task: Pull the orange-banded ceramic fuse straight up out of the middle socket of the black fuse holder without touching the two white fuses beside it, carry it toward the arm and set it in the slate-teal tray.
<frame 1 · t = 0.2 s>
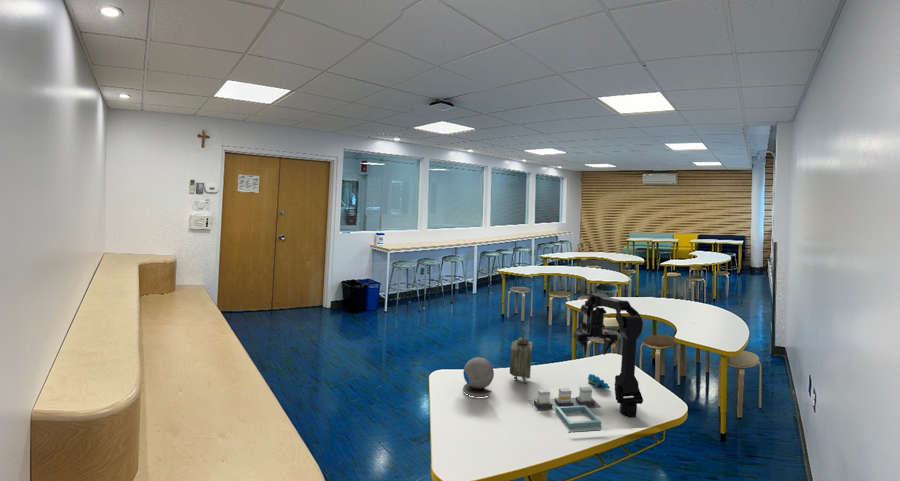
hand: (594, 354, 198), 14 cm above the table, tool pointing down, fingers open, 9 cm apart
gear: (597, 389, 196), on the table
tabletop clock: (519, 381, 203), on the table
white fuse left: (543, 404, 177), point 1 cm above the table, touching fuse holder
marked fuse: (564, 403, 179), point 1 cm above the table, touching fuse holder
fuse holder: (563, 407, 179), on the table
tray: (577, 422, 167), on the table
webcam: (477, 392, 190), on the table
white fuse right: (584, 402, 180), point 1 cm above the table, touching fuse holder
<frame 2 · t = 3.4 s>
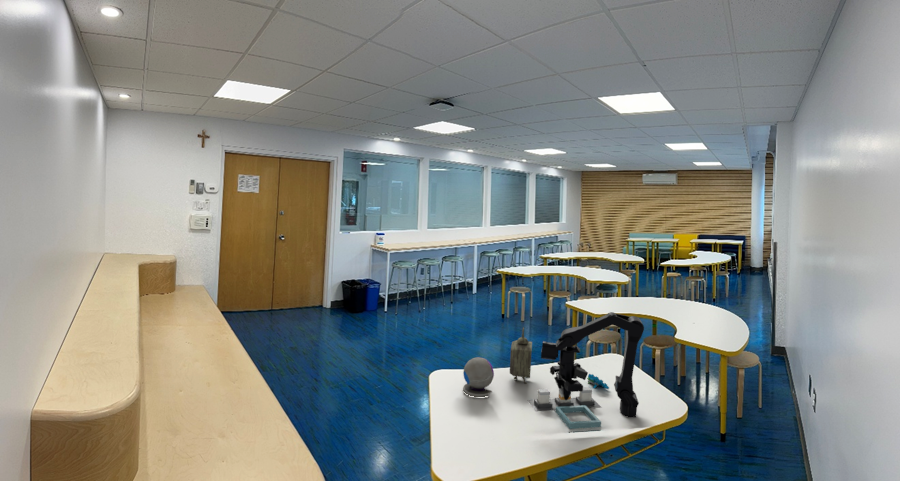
hand: (564, 398, 178), 4 cm above the table, tool pointing down, fingers closed on marked fuse, 3 cm apart
marked fuse: (564, 403, 179), point 1 cm above the table, touching fuse holder, gripper
everything else where it was.
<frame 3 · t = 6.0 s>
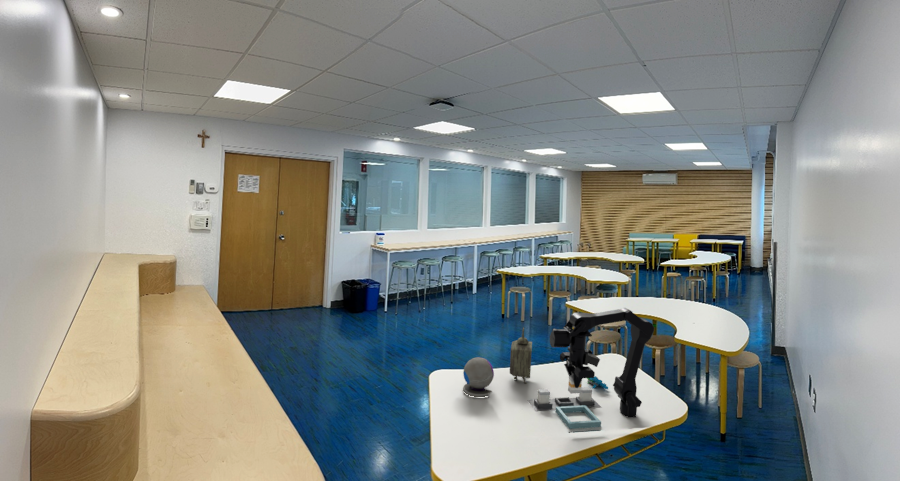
hand: (575, 386, 169), 13 cm above the table, tool pointing down, fingers closed on marked fuse, 3 cm apart
marked fuse: (574, 391, 169), point 11 cm above the table, touching gripper
everything else where it was.
when the fingers open (5 cm above the table, at t = 8.4 s): marked fuse drops 1 cm, resting on tray.
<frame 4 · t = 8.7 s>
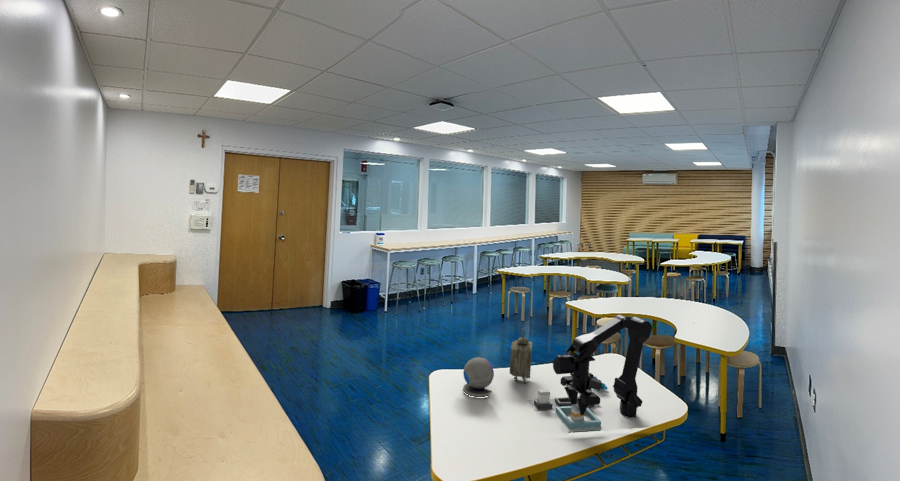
hand: (578, 411, 167), 5 cm above the table, tool pointing down, fingers open, 5 cm apart
marked fuse: (577, 420, 167), point 1 cm above the table, touching tray
everything else where it was.
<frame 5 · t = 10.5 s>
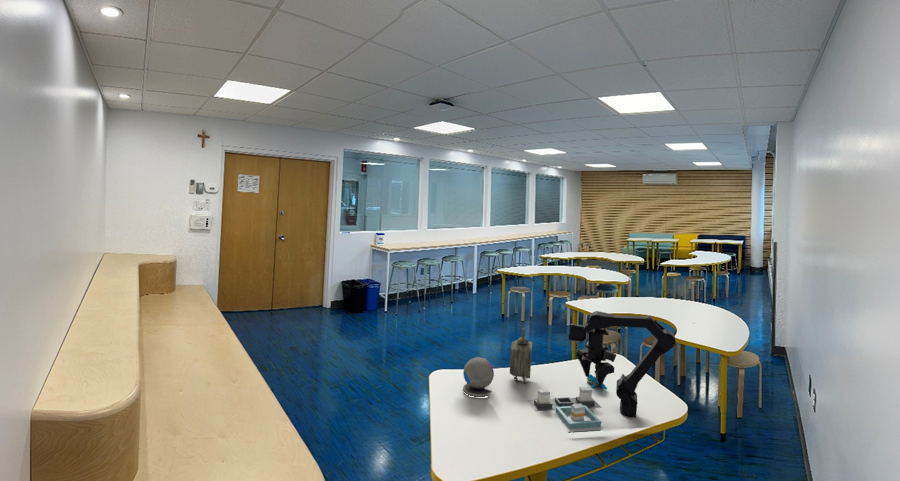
hand: (593, 381, 176), 12 cm above the table, tool pointing down, fingers open, 9 cm apart
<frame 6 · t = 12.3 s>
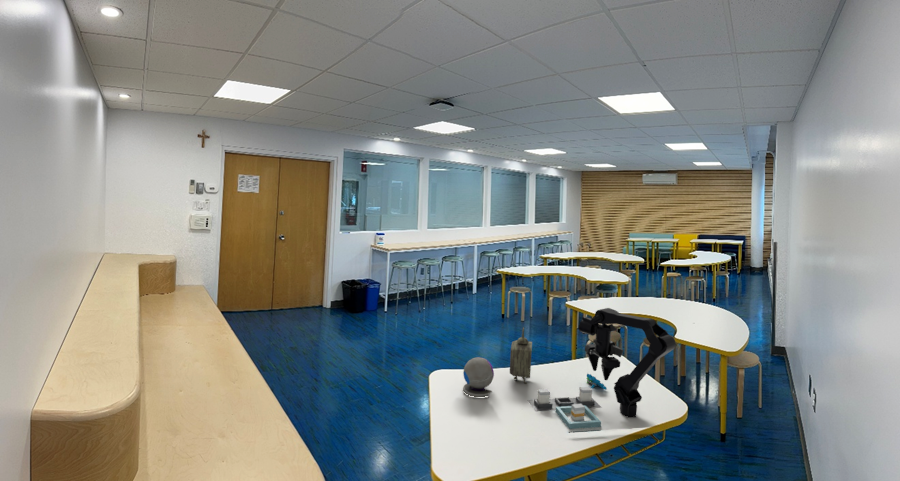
hand: (600, 375, 182), 12 cm above the table, tool pointing down, fingers open, 9 cm apart
at the end: marked fuse inside the target area on the tray (0.0 cm from its centre), point 0.8 cm above the tray's base; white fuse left moved 0.0 cm from its start; white fuse right moved 0.0 cm from its start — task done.
